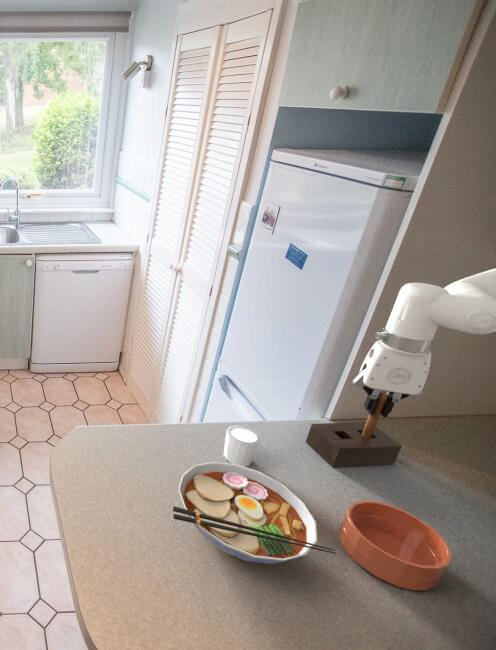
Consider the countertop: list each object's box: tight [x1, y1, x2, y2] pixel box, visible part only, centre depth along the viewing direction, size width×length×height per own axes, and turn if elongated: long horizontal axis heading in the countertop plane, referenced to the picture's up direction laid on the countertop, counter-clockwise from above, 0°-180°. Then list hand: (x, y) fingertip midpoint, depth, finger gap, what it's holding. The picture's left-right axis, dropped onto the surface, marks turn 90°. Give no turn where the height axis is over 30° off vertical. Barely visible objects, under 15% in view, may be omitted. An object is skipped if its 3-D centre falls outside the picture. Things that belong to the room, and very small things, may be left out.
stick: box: [362, 390, 389, 438], centre depth 104 cm, size 2×2×16 cm
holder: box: [305, 421, 403, 469], centre depth 106 cm, size 9×15×6 cm, turn 93°
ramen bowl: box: [172, 461, 336, 565], centre depth 85 cm, size 25×23×8 cm
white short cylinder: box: [223, 424, 261, 468], centre depth 104 cm, size 7×7×7 cm
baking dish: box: [338, 500, 453, 591], centre depth 81 cm, size 14×14×6 cm
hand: (375, 412), depth 103 cm, fingers closed on stick, 1 cm apart
